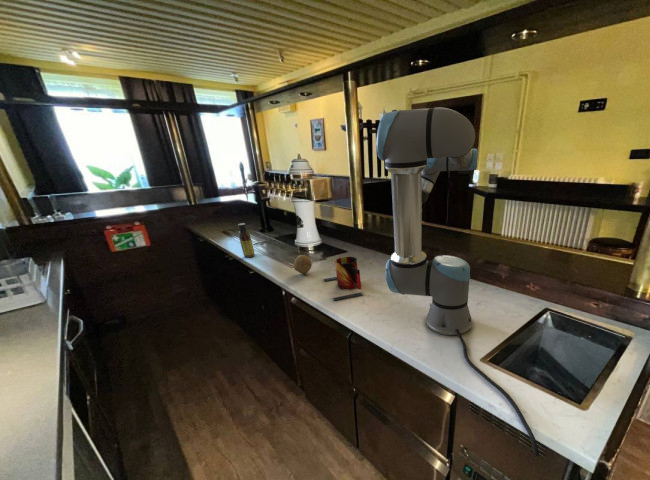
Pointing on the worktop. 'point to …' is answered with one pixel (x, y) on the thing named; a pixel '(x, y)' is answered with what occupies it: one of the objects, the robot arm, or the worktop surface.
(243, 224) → the sauce bottle
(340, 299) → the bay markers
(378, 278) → the worktop surface
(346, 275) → the mug
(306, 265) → the natural sponge
